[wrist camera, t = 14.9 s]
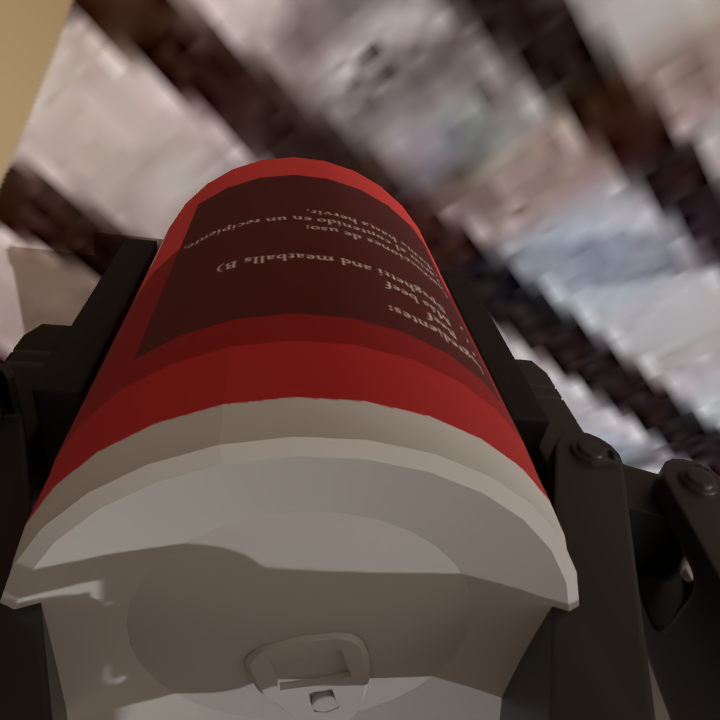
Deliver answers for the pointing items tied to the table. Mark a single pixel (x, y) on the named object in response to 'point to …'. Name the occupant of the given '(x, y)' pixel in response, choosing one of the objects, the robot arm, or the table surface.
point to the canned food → (292, 480)
